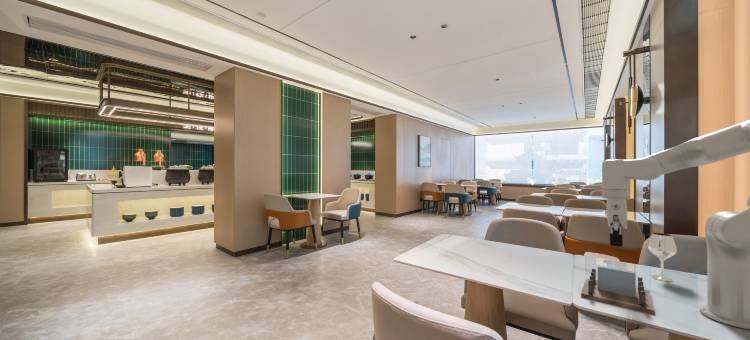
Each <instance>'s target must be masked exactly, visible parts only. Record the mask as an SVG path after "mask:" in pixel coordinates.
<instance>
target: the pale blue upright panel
mask: <svg viewBox="0 0 750 340" xmlns="http://www.w3.org/2000/svg"><path fill="white" fill-rule="evenodd" d="M636 275H637V274H636V271H634V270H627V269H623V268H616V267H612V266H611V267H610V266H604V265H597V280H598V289H599V290H604V291H608V292H613V293H617V294H622V295H626V296H631V297H636V288H637V285H636V283H637V282H636Z"/></svg>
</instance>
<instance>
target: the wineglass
mask: <svg viewBox="0 0 750 340" xmlns="http://www.w3.org/2000/svg"><path fill="white" fill-rule="evenodd" d="M647 248H648V250H649V251H650V252H651V254H653V255H654V256H655V257H656V258H658V259H659V261H660V275H658V274H651V275H650V277H651V278H652V279H655V280H657V281H663V282H674V279H673V278H671V277H668V276H664V275H665V273H664V271H665V270H664V262H665V261H666V260H668V259H670V258H672V257H673V256H674V255H676V254H677V252H678V249H677V245H676V242H675V239H674V237H673V235H672V234H669V233H668V234H667V233H662V232H661V233H660V232H652V233H651V235H650V238H649V241H648V245H647Z"/></svg>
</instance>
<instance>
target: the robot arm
mask: <svg viewBox="0 0 750 340" xmlns="http://www.w3.org/2000/svg"><path fill="white" fill-rule="evenodd" d="M746 153H747V154H748V153H750V119H748V120H745V121H742V122H739V123H736V124H733V125H730V126H728V127H725V128H721V129H719V130H716V131H713V132H710V133H707V134H704V135H701V136H699V137H695V138H692V139H690V140H688V141H685V142H682V143H681V144H678V145H675V146H674V147H670V148H667V149H665V150H662V151H659V152H656V153H653V154H651V155H648V156H645V157H642V158H634V159H624V158H622V159H621V158H618V159H617V158H615V159H614V158H613V159H604V160H603V161H602V163H601V197H602V199H604V200H605V199H606V217H607V225H608V227H609V228H610V232H609V245H610V246H612V247H620V248H622V247H623V244H624V243H623V230H622V228H624V229H625V230H626V229H627V228H628V205H627V200H631V180H636V181H637V180H638V181H645V182H648V181H654V180H656V179H659V178H660V177H661V176H662V175H666V174H671V173H673V172H676V171H680V170H684V169H688V168H693V167H701V166H705V165H710V164H713V163H714V164H715V163H717V162H720V161H724V160H727V159H730V158H733V157H734V158H735V157H737V156H740V155H743V154H746ZM704 235H705V240H706V241H705V242H706V252H707V253H706V254H707V255H706V256H707V259H706V262H707V265H706V271H707V275H706V276H707V277H706V278H707V285H706V286H707V287H706V288H707V290H706V293H707V294H706V295H707V296H706V298H707V299H706V301H707V304H706V305H701V306H700V307H699V312H700V313H701V314H702V315H703V316H705V317H707V318H709V319H712V320H714V321H716V322H719V323H722V324H725V325H728V326H733V327H736V328H740V329H746V330H750V196H749V197H747V199H746V208H745V209H743V210H742V211H741V210H740V212H737V211H730V210H729V211H728V210H725V211H717V212H716V213H713V214H712V215H710V216H709V217H707V219H706V221H705V223H704Z"/></svg>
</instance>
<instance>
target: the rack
mask: <svg viewBox="0 0 750 340" xmlns="http://www.w3.org/2000/svg"><path fill="white" fill-rule="evenodd" d="M596 272H597V270H596V268H591V271H590V275H589V277H585V281H584V283H583V286H582V289H581V292H580V298H585V299H589V300H593V301H597V302H602V303H605V304H609V305H614V306H617V307H618V306H619V307H622V308H626V309H630V310H635V311H639V312H642V313H647V314H651V315H655V308H654V303H653V300H652V295H651V291H650V290H647V289H645V286H644V281H643V277H642V276H637V287H636V297H631V296H626V295H622V294H617V293H613V292H608V291H604V290H599V289H598V279H597V277H596V276H597V273H596Z"/></svg>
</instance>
